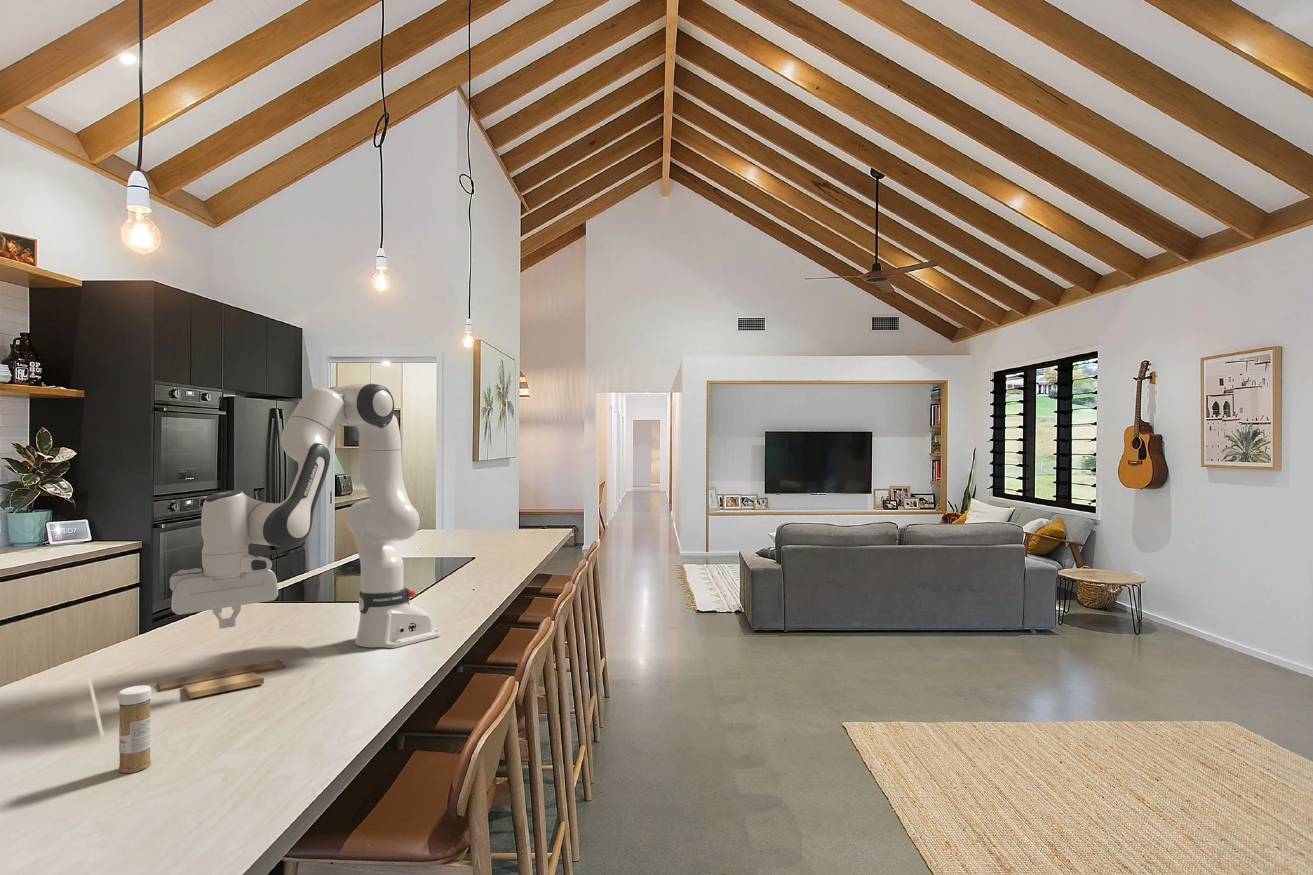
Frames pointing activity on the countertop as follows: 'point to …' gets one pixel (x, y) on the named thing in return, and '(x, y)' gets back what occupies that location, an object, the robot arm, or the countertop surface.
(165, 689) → the walnut floorboard
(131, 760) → the spice jar
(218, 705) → the countertop surface
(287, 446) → the robot arm
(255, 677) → the oak plank
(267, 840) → the countertop surface
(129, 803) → the countertop surface
